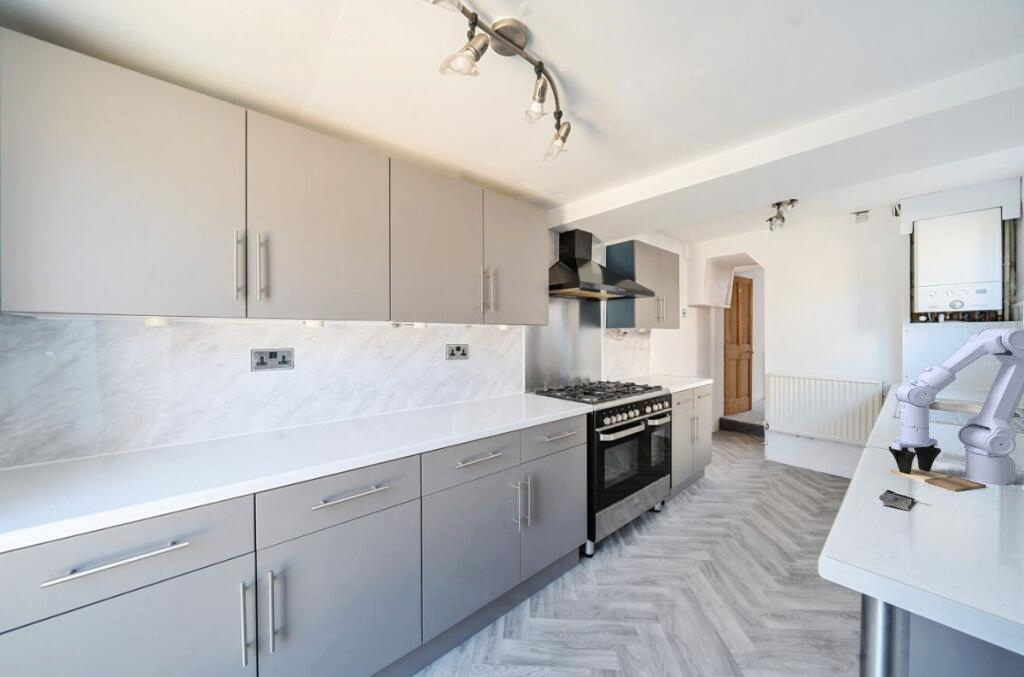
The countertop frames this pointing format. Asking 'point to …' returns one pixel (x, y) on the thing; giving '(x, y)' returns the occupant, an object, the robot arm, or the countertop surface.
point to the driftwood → (896, 500)
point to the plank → (923, 474)
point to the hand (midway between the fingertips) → (914, 471)
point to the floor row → (956, 484)
